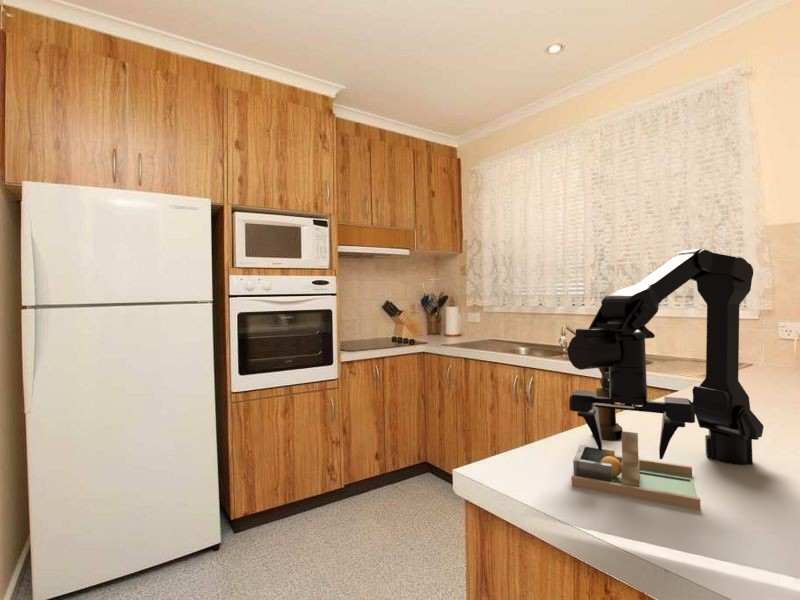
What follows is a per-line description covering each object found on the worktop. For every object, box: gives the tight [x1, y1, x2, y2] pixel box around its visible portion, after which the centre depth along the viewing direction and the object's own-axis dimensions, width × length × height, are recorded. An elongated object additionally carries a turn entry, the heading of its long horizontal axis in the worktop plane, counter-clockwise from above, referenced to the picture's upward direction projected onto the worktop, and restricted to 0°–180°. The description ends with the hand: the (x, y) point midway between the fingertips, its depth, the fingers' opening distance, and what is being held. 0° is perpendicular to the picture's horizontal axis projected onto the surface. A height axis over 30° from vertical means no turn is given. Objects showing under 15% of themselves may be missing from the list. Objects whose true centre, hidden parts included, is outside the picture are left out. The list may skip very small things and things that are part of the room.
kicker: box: [621, 430, 640, 486], centre depth 73 cm, size 3×6×8 cm, turn 149°
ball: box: [601, 456, 621, 477], centre depth 74 cm, size 4×4×4 cm
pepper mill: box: [591, 367, 623, 442], centre depth 99 cm, size 7×6×18 cm
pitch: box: [571, 454, 702, 511], centre depth 73 cm, size 18×14×2 cm
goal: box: [572, 443, 616, 482], centre depth 76 cm, size 6×9×4 cm, turn 149°
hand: (629, 454), depth 73 cm, fingers open, 9 cm apart
